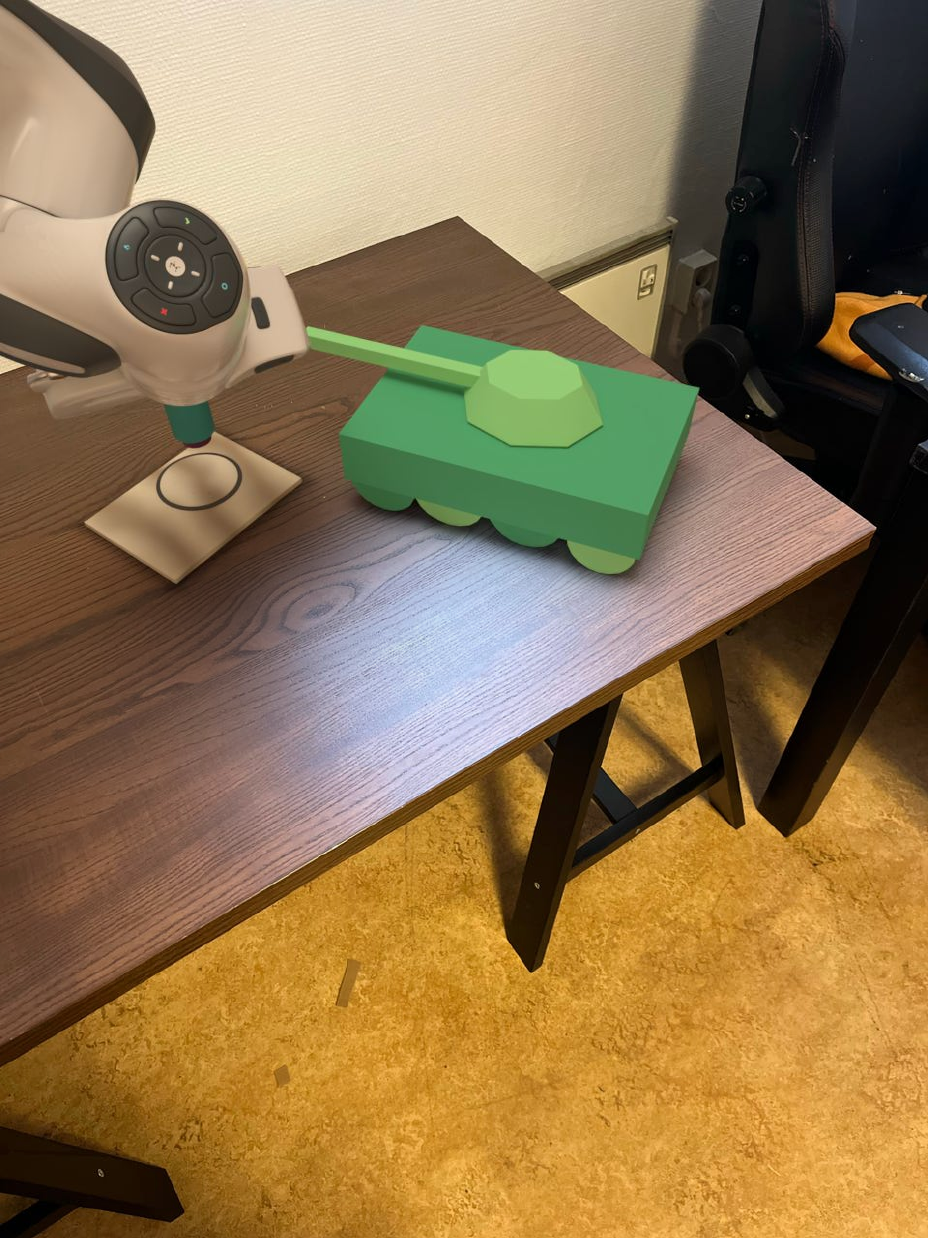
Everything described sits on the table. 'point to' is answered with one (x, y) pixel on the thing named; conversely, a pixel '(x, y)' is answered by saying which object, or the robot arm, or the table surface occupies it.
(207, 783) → the table surface
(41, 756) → the table surface
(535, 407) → the toy tank
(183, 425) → the dot marker
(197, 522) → the board
